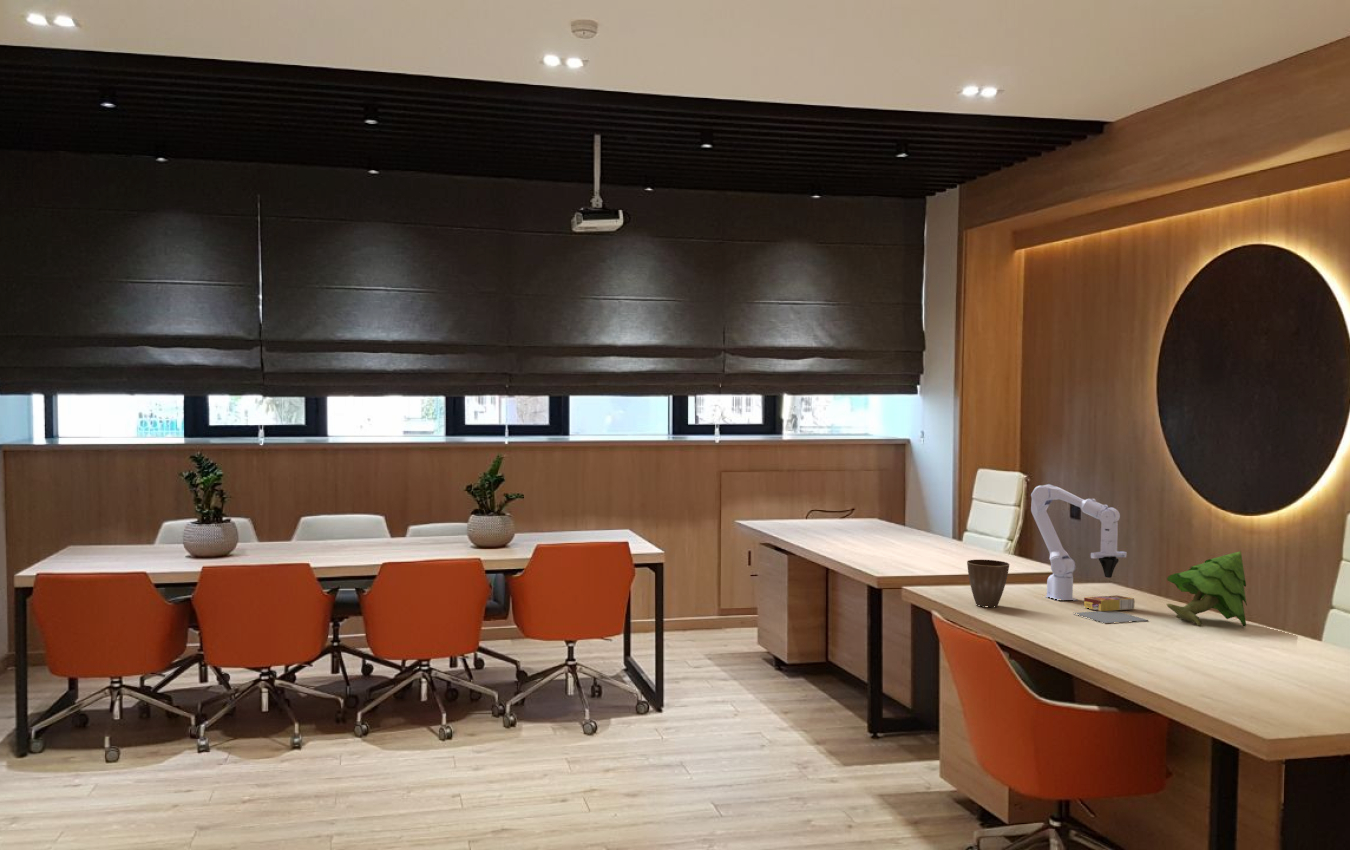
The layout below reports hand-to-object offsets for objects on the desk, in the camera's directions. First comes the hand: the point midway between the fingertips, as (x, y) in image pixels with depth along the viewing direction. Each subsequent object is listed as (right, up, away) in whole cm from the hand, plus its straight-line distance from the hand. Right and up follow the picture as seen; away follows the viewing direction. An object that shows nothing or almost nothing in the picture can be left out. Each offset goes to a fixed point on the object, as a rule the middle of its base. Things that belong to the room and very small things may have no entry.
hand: (1108, 577), depth 397 cm
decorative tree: (+21, -12, -31) cm, 39 cm away
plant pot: (-46, -10, -4) cm, 47 cm away
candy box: (-10, -8, -10) cm, 16 cm away
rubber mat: (-8, -11, -22) cm, 26 cm away
